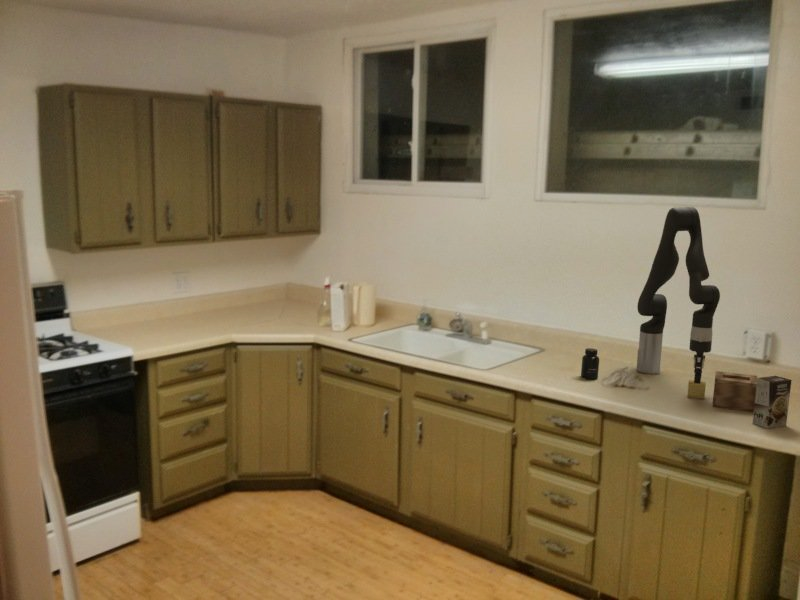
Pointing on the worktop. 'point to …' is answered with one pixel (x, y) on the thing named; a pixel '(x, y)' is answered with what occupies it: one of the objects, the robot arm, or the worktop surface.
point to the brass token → (696, 389)
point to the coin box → (735, 391)
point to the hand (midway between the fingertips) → (697, 380)
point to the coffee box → (772, 401)
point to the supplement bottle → (590, 364)
